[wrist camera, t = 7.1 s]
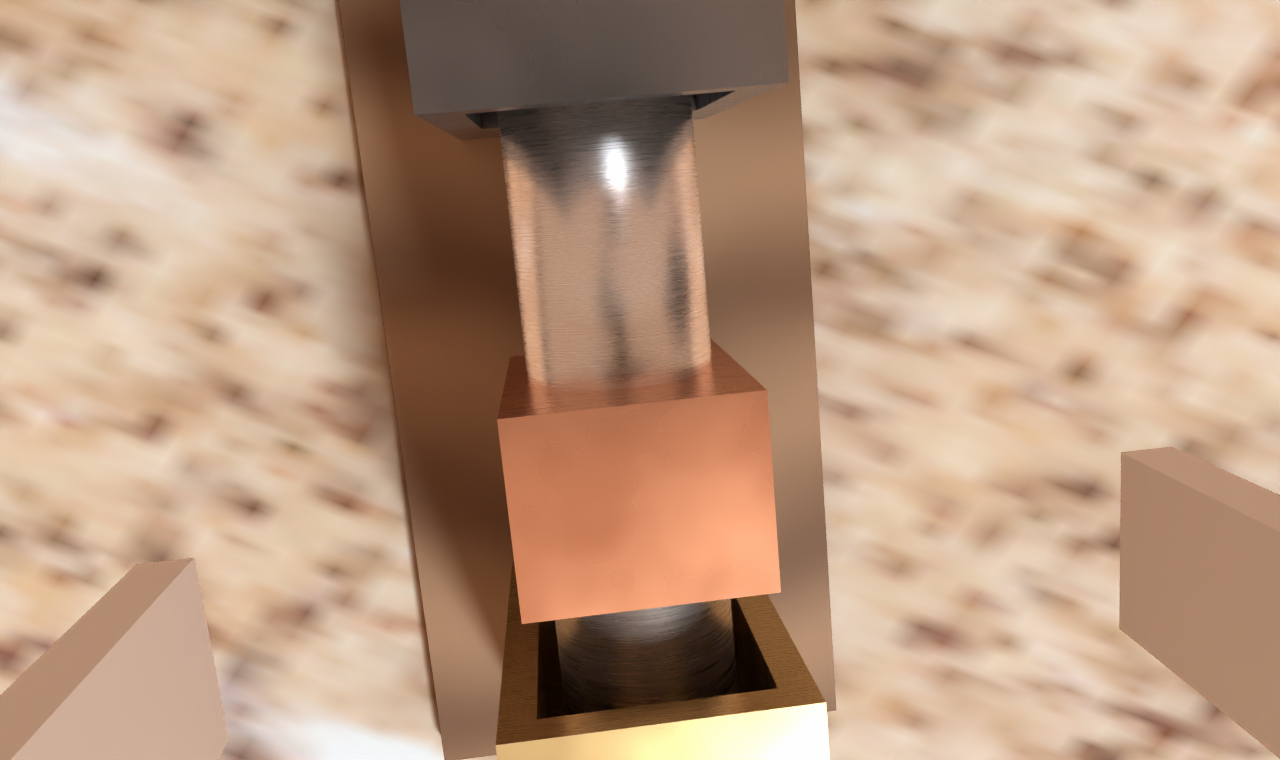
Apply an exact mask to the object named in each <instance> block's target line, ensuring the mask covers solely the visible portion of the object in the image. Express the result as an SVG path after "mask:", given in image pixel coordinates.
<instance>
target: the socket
mask: <svg viewBox="0 0 1280 760" xmlns="http://www.w3.org/2000/svg"><path fill="white" fill-rule="evenodd" d="M731 611H732V624H733V637H734V649H735V662H736V675H737V688H738V693H737V694H730V695H722V696H714V697H706V698H699V699H691V700H683V701H675V702H668V703H660V704H652V705H644V706H636V707H629V708H621V709H613V710H605V711H598V712H590V713H582V714H574V715H567V716H566V712H565V703H564V694H563V685H562V677H561V668H560V659H559V650H558V641H557V633H556V624H555V620H551V621H543V622H535V623H527V624H522V622H521V614H520V606H519V598H518V589H517V581H516V573H515V564H514V562H512V569H511V580H510V591H509V602H508V613H507V624H506V635H505V646H504V657H503V668H502V679H501V691H500V702H499V713H498V724H497V735H496V753H497V760H830V758H829V741H828V724H827V708H826V701H825V699H824V697H823V696H822V694H821V692H820V690H819V688H818V686H817V684H816V683H815V681H814V679H813V677H812V675H811V673H810V672H809V670H808V668H807V666H806V664H805V662H804V661H803V659H802V657H801V655H800V653H799V651H798V649H797V648H796V646H795V644H794V642H793V640H792V638H791V637H790V635H789V633H788V631H787V629H786V627H785V625H784V624H783V622H782V620H781V618H780V616H779V614H778V613H777V611H776V609H775V607H774V605H773V603H772V602H771V600H770V598H769V596H768V594H764V595H756V596H748V597H740V598H732V599H731Z"/></svg>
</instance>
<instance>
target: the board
mask: <svg viewBox="0 0 1280 760" xmlns="http://www.w3.org/2000/svg"><path fill="white" fill-rule="evenodd" d="M339 8H340V15H341V22H342V29H343V36H344V43H345V51H346V58H347V65H348V72H349V79H350V86H351V93H352V101H353V108H354V115H355V122H356V129H357V136H358V144H359V151H360V158H361V165H362V172H363V179H364V187H365V194H366V201H367V208H368V215H369V222H370V229H371V237H372V244H373V251H374V258H375V265H376V272H377V280H378V287H379V294H380V301H381V308H382V315H383V322H384V330H385V337H386V344H387V351H388V358H389V365H390V373H391V380H392V387H393V394H394V401H395V408H396V416H397V423H398V430H399V437H400V444H401V451H402V458H403V466H404V473H405V480H406V487H407V494H408V501H409V509H410V516H411V523H412V530H413V537H414V544H415V551H416V559H417V566H418V573H419V580H420V587H421V594H422V602H423V609H424V616H425V623H426V630H427V637H428V645H429V652H430V659H431V666H432V673H433V680H434V687H435V695H436V702H437V709H438V716H439V723H440V730H441V738H442V745H443V752H444V759H445V760H461V759H468V758H476V757H484V756H491V755H497V753H496V735H497V724H498V713H499V702H500V691H501V679H502V668H503V657H504V646H505V635H506V624H507V613H508V602H509V591H510V580H511V569H512V562H514V556H513V548H512V539H511V531H510V523H509V514H508V506H507V498H506V490H505V481H504V473H503V465H502V456H501V448H500V440H499V431H498V423H497V417H498V412H499V408H500V403H501V398H502V393H503V389H504V384H505V379H506V374H507V370H508V365H509V360H510V357H513V356H523V355H525V351H524V342H523V334H522V325H521V316H520V307H519V298H518V290H517V281H516V272H515V263H514V254H513V246H512V237H511V228H510V219H509V210H508V202H507V193H506V184H505V175H504V166H503V158H502V149H501V140H500V137H492V138H481V139H470V140H460V139H458V138H456V137H454V136H452V135H450V134H449V133H447V132H445V131H443V130H441V129H439V128H437V127H436V126H434V125H432V124H430V123H428V122H426V121H425V120H423V119H421V118H419V117H417V116H415V115H414V109H413V101H412V93H411V85H410V78H409V70H408V62H407V54H406V47H405V39H404V31H403V23H402V16H401V8H400V0H339ZM784 12H785V28H786V45H787V61H788V78H789V83H787V84H784V85H782V86H780V87H777V88H775V89H773V90H770V91H768V92H766V93H763V94H761V95H759V96H756V97H754V98H752V99H749V100H747V101H745V102H742V103H740V104H737V105H735V106H733V107H730V108H728V109H726V110H723V111H721V112H719V113H716V114H714V115H712V116H709V117H707V118H705V119H696V120H693V125H694V138H695V150H696V163H697V176H698V189H699V202H700V214H701V227H702V240H703V253H704V266H705V278H706V291H707V304H708V317H709V329H710V338H711V339H712V340H713V341H715V342H716V343H717V344H718V345H719V346H720V347H721V348H722V349H723V350H724V351H725V352H727V353H728V354H729V355H730V356H731V357H732V358H733V359H734V360H735V361H736V362H737V363H738V364H740V365H741V366H742V367H743V368H744V369H745V370H746V371H747V372H748V373H749V374H750V375H751V376H753V377H754V378H755V379H756V380H757V381H758V382H759V383H760V384H761V385H762V386H763V387H764V388H766V389H767V393H768V408H769V423H770V437H771V452H772V467H773V481H774V496H775V511H776V526H777V540H778V555H779V570H780V584H781V593H773V594H768V596H769V598H770V600H771V602H772V603H773V605H774V607H775V609H776V611H777V613H778V614H779V616H780V618H781V620H782V622H783V624H784V625H785V627H786V629H787V631H788V633H789V635H790V637H791V638H792V640H793V642H794V644H795V646H796V648H797V649H798V651H799V653H800V655H801V657H802V659H803V661H804V662H805V664H806V666H807V668H808V670H809V672H810V673H811V675H812V677H813V679H814V681H815V683H816V684H817V686H818V688H819V690H820V692H821V694H822V696H823V697H824V699H825V701H826V708H827V711H835V710H836V697H835V679H834V662H833V645H832V628H831V611H830V594H829V577H828V560H827V542H826V525H825V508H824V491H823V474H822V457H821V440H820V422H819V405H818V388H817V371H816V354H815V337H814V320H813V303H812V285H811V268H810V251H809V234H808V217H807V200H806V183H805V165H804V148H803V131H802V114H801V97H800V80H799V63H798V45H797V28H796V11H795V0H784Z"/></svg>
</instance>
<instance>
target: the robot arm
mask: <svg viewBox="0 0 1280 760" xmlns="http://www.w3.org/2000/svg"><path fill="white" fill-rule="evenodd" d="M1119 629H1121V630H1122V631H1123V632H1124V633H1125V634H1127V635H1128V636H1129V637H1130V638H1132V639H1133V640H1134V641H1135V642H1137V643H1138V644H1139V645H1140V646H1142V647H1143V648H1144V649H1145V650H1147V651H1148V652H1149V653H1150V654H1151V655H1153V656H1154V657H1155V658H1156V659H1158V660H1159V661H1160V662H1161V663H1163V664H1164V665H1165V666H1166V667H1168V668H1169V669H1170V670H1171V671H1172V672H1174V673H1175V674H1176V675H1177V676H1179V677H1180V678H1181V679H1182V680H1184V681H1185V682H1186V683H1187V684H1189V685H1190V686H1191V687H1192V688H1194V689H1195V690H1196V691H1197V692H1198V693H1200V694H1201V695H1202V696H1203V697H1205V698H1206V699H1207V700H1208V701H1210V702H1211V703H1212V704H1213V705H1215V706H1216V707H1217V708H1218V709H1219V710H1221V711H1222V712H1223V713H1224V714H1226V715H1227V716H1228V717H1229V718H1231V719H1232V720H1233V721H1234V722H1236V723H1237V724H1238V725H1239V726H1241V727H1242V728H1243V729H1244V730H1245V731H1247V732H1248V733H1249V734H1250V735H1252V736H1253V737H1254V738H1255V739H1257V740H1258V741H1259V742H1260V743H1262V744H1263V745H1264V746H1265V747H1267V748H1268V749H1269V750H1270V751H1271V752H1273V753H1274V754H1275V755H1276V756H1278V757H1279V758H1280V495H1278V494H1276V493H1274V492H1272V491H1269V490H1267V489H1265V488H1263V487H1260V486H1258V485H1256V484H1254V483H1252V482H1249V481H1247V480H1245V479H1243V478H1240V477H1238V476H1236V475H1234V474H1232V473H1229V472H1227V471H1225V470H1223V469H1220V468H1218V467H1216V466H1214V465H1211V464H1209V463H1207V462H1205V461H1203V460H1200V459H1198V458H1196V457H1194V456H1191V455H1189V454H1187V453H1185V452H1182V451H1180V450H1178V449H1176V448H1174V447H1165V448H1156V449H1148V450H1139V451H1130V452H1121V516H1120V621H1119ZM228 741H229V737H228V732H227V727H226V722H225V716H224V711H223V706H222V701H221V695H220V690H219V685H218V680H217V674H216V669H215V664H214V659H213V654H212V648H211V643H210V638H209V633H208V627H207V622H206V617H205V612H204V606H203V601H202V596H201V591H200V586H199V580H198V575H197V570H196V565H195V559H194V558H188V559H179V560H170V561H162V562H153V563H144V564H136V565H135V566H134V567H133V568H132V569H131V570H130V571H129V572H128V573H127V574H126V575H125V576H124V577H123V578H122V579H121V580H120V581H119V582H118V583H117V584H116V585H115V586H114V587H112V588H111V589H110V590H109V591H108V592H107V593H106V594H105V595H104V596H103V597H102V598H101V599H100V600H99V601H98V602H97V603H96V604H95V605H94V606H93V607H92V608H91V609H90V610H89V611H88V612H87V613H85V614H84V615H83V616H82V617H81V618H80V619H79V620H78V621H77V622H76V623H75V624H74V625H73V626H72V627H71V628H70V629H69V630H68V631H67V632H66V633H65V634H64V635H63V636H62V637H61V638H60V639H58V640H57V641H56V642H55V643H54V644H53V645H52V646H51V647H50V648H49V649H48V650H47V651H46V652H45V653H44V654H43V655H42V656H41V657H40V658H39V659H38V660H37V661H36V662H35V663H34V664H33V665H31V666H30V667H29V668H28V669H27V670H26V671H25V672H24V673H23V674H22V675H21V676H20V677H19V678H18V679H17V680H16V681H15V682H14V683H13V684H12V685H11V686H10V687H9V688H8V689H7V690H6V691H4V692H3V693H2V694H1V695H0V760H218V759H219V757H220V756H221V754H222V752H223V750H224V748H225V747H226V745H227V743H228Z"/></svg>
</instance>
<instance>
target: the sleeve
mask: <svg viewBox="0 0 1280 760" xmlns="http://www.w3.org/2000/svg"><path fill="white" fill-rule="evenodd" d="M400 8H401V16H402V23H403V31H404V39H405V47H406V54H407V62H408V70H409V78H410V85H411V93H412V101H413V109H414V115H415V116H417V117H419V118H421V119H423V120H425V121H426V122H428V123H430V124H432V125H434V126H436V127H437V128H439V129H441V130H443V131H445V132H447V133H449V134H450V135H452V136H454V137H456V138H458V139H460V140H470V139H481V138H492V137H500V131H499V122H498V114H497V111H506V110H518V109H529V108H541V107H552V106H564V105H575V104H587V103H598V102H610V101H621V100H633V99H645V98H656V97H668V96H679V95H691V99H692V112H693V120H696V119H705V118H707V117H709V116H712V115H714V114H716V113H719V112H721V111H723V110H726V109H728V108H730V107H733V106H735V105H737V104H740V103H742V102H745V101H747V100H749V99H752V98H754V97H756V96H759V95H761V94H763V93H766V92H768V91H770V90H773V89H775V88H777V87H780V86H782V85H784V84H787V83H789V78H788V61H787V45H786V28H785V12H784V0H400Z"/></svg>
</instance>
